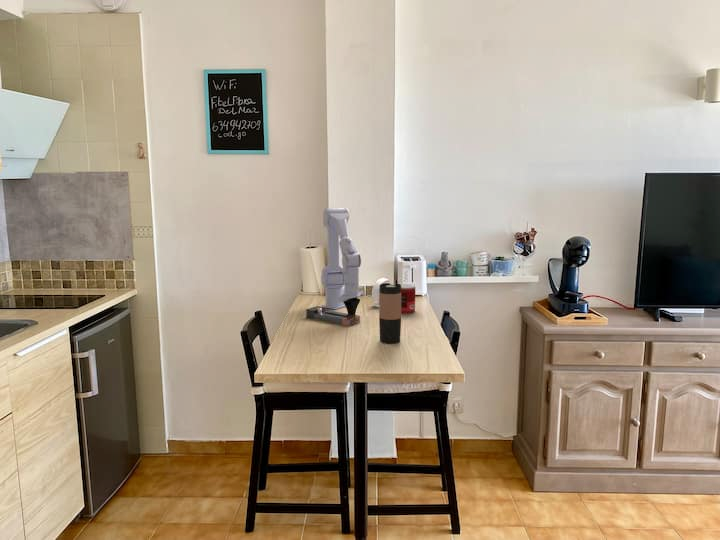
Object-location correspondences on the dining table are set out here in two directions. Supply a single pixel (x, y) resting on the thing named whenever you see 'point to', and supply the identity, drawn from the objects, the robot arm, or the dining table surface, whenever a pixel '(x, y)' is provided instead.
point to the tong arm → (345, 315)
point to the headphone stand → (377, 290)
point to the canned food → (407, 298)
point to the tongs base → (328, 316)
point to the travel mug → (390, 313)
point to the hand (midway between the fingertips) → (351, 316)
